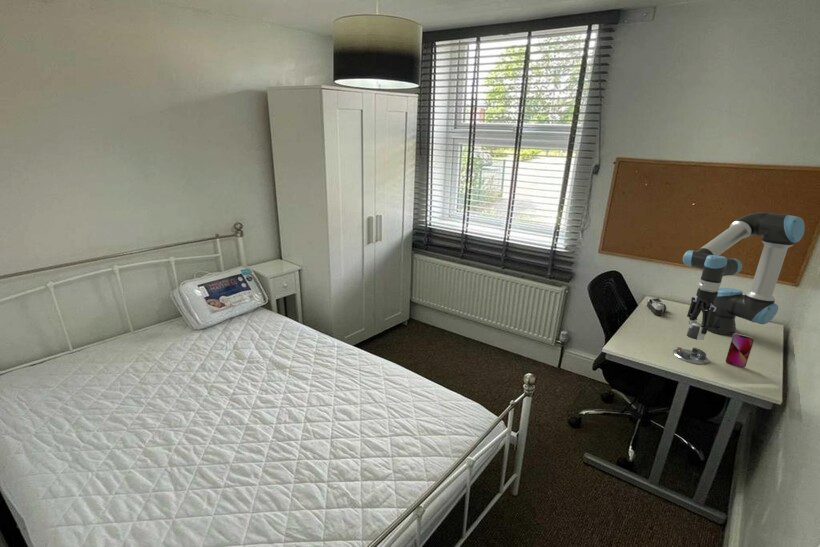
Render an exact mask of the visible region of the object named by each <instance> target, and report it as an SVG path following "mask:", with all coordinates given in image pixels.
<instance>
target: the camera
mask: <svg viewBox="0 0 820 547" xmlns="http://www.w3.org/2000/svg"><path fill="white" fill-rule="evenodd" d="M647 299H648V300H647V304H646V307H647V308H648V310H651V311H650V312H651V313H652V314H653V316H656V317H661V316H662V313H663V314H665V313H666V312H667V309H668V308H667V305H666V304H665V303H663V300H661V298H659V297H658V298H657V297H656V298H654V297H650V298H647Z"/></svg>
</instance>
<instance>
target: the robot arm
mask: <svg viewBox="0 0 820 547" xmlns="http://www.w3.org/2000/svg"><path fill="white" fill-rule="evenodd" d="M805 230H806V225H805V222H804V219H803V218H801V217H800V216H795V215H792V214H791V215H790V214H781V213H780V214H779V213H773V212H764V211H761V212H754V213H750V214H746V215H744V216H741V217H740V218H737V219H736V220H735V221H733V222H732V223H730V225H729V228H727V229H725V230H724V231H723V232H721V233H720V234H718V235H717V236H716V237H714V238H713V239H712V240H710V241H709V242H707V243H706V244H704V245H703V246H701V247H700V248H699V249H697V250H691V249H689V250H687V251H685V253H684V254H683V256H682V262H683V264H684V266H685V265H686V266H688V267H691V268H694V269H700V270H702V271H701V272H702V273H701V275H700V280H699V284H698V288H697V291H696V294H695V296H696V297H695V296H692V297H691V301H690V305H689V308H688V311H687V314H686V317H687V318H689V321H688V325H689V324H690V323H698V317H699V316H700V313H702V317H701V318H702V321H701V323H700V324H702V326H700V329H699V333H698V337H697V340H698V341H704V340H705V337H706V334H707V332H712V333H715V334H719V335H726V336H730V335H731V336H733V334H735V333H737V332H736V331H737V327H736V317H737V318H740V319H744V320H746V321H749V322H752V323H756V324H758V325H766V324H768V323H769V322H771V321H772V320H773V319H774V318H775V316H776V315H777V314H778V311H779V305H778V304H777V303H775V301H776V298H775V297H774V295H773V294H774V291H775V288H776V285H777V282H778V280H779V276H780V273H781V271H782V268H783V264H784V260H785V258H786V255H787V252H788V249H789V248H791V247H793V246H794V244H795V243H798V242H800V241H801V240H802V238H803V237H804V234H805ZM750 236H758V237H761V243H763V248H762V251H761V255H760V258H759V261H758V265H757V267H756V270H755V273H754V277H753V280H752V283H751V286H750V290H749V291H747V292H745V293H744V292H743V290H741V289H738V288H731V287H721V284H722V280H723V277H726V276H734V275H737V274H739V273H741V271H742V269H743V264H742V262H741V261H740V260H739V259H737V258H735V257H734V258H732V257H729V258H727V257H726V256H722V254H723V253H724V252H725V251H727V250H729V249H730V248H731V247H732V246H733V245H735V244H737V243H738V242H740V241H742V239H746V238H748V237H750ZM688 329H689V327H688V326H687V331H686V333H687V332H688ZM697 340H696V341H697Z"/></svg>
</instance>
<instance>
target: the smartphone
mask: <svg viewBox="0 0 820 547" xmlns="http://www.w3.org/2000/svg"><path fill="white" fill-rule="evenodd" d="M754 341H755V339H754V337H752V336H749V335H744V334H740V333H737V332H735V334H733V335H732V338H731V340H730V343H729V347H728V350H727V355H726V357H725V363H726V364H728V365H732V366H736V367H739V368H745V367H746V366H747V364H748V360H749V357H750V354H751V351H752V348H753V344H754Z"/></svg>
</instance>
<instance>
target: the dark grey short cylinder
mask: <svg viewBox="0 0 820 547" xmlns="http://www.w3.org/2000/svg"><path fill="white" fill-rule="evenodd" d="M700 326H702V324H701V323H699V322H697V323H690V324H689V323H688V325H687V331H688V332H687V331H686V336H687V337H688V338H690V339H692V340H696V341H697V337H698V333H699V329H700ZM688 327H689V329H688Z"/></svg>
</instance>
